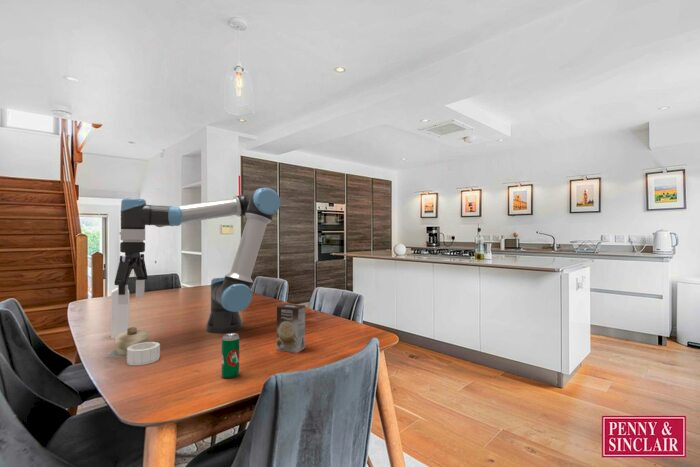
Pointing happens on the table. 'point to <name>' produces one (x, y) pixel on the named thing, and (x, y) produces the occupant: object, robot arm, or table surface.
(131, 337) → the beige round piece
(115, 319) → the milk
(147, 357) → the bowl
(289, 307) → the coffee box
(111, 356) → the mat
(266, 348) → the table surface
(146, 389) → the table surface
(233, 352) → the soda can
